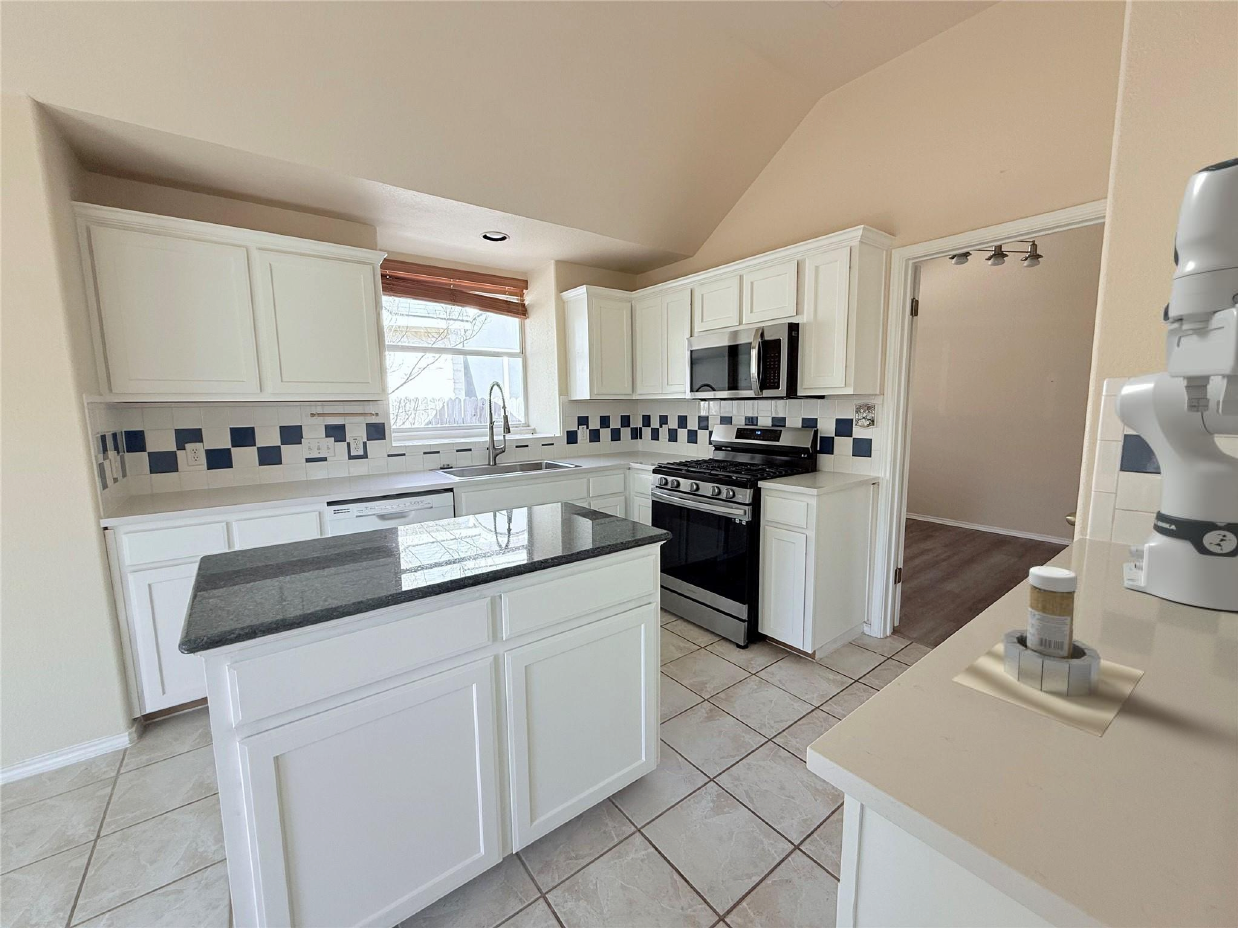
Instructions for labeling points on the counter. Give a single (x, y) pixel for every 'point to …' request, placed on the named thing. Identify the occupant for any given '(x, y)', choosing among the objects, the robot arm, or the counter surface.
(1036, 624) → the sprinkles bottle
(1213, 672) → the counter surface
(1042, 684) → the steel ring
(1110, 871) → the counter surface
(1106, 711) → the birch board
